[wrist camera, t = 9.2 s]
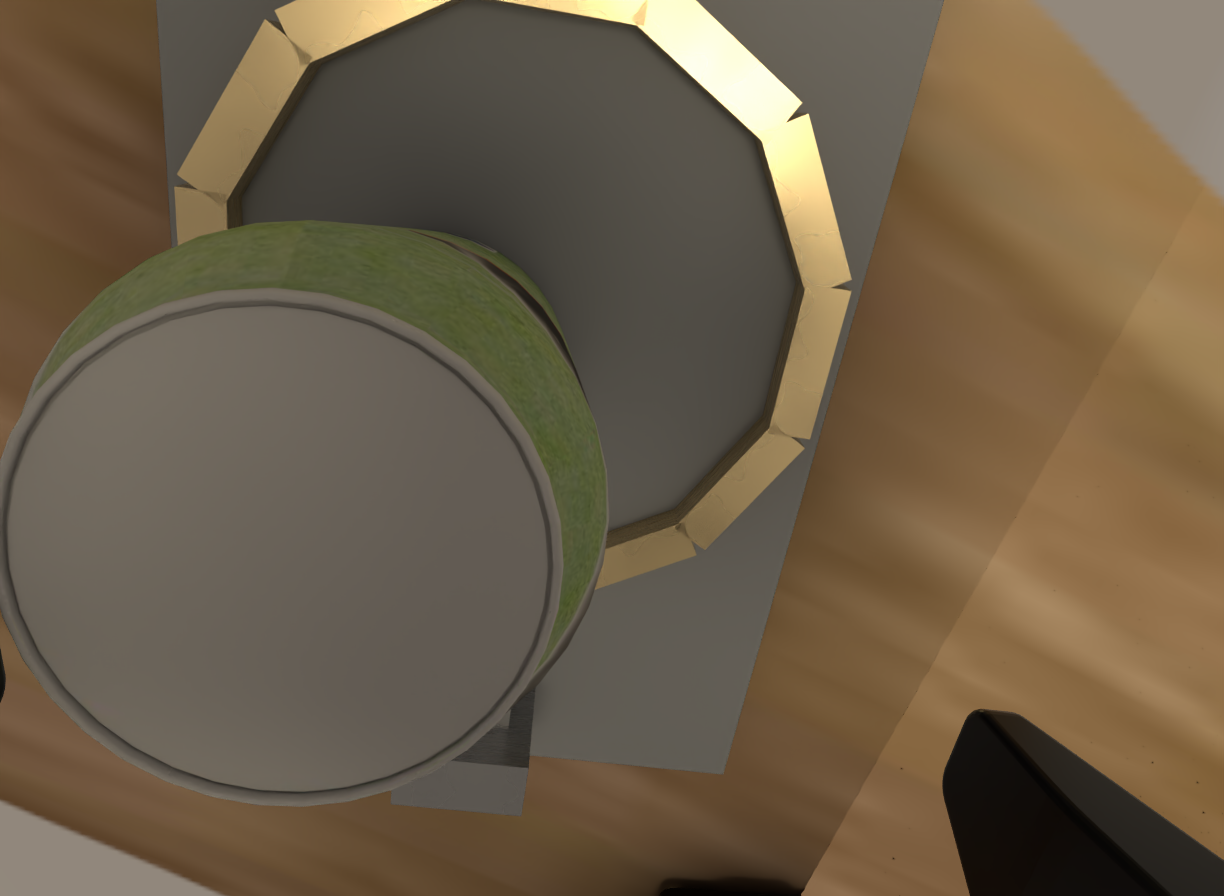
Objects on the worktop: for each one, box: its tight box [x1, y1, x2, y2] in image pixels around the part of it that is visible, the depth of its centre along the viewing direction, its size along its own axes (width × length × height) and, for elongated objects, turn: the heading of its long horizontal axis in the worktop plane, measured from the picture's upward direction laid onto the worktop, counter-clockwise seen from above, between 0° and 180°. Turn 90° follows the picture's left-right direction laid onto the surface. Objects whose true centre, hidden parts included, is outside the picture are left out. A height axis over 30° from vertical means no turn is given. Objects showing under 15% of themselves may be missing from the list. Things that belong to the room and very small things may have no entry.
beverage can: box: [0, 220, 609, 807], centre depth 13 cm, size 6×7×12 cm
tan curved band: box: [174, 0, 852, 816], centre depth 17 cm, size 23×14×3 cm, turn 171°
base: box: [156, 0, 944, 774], centre depth 19 cm, size 26×15×1 cm, turn 171°
